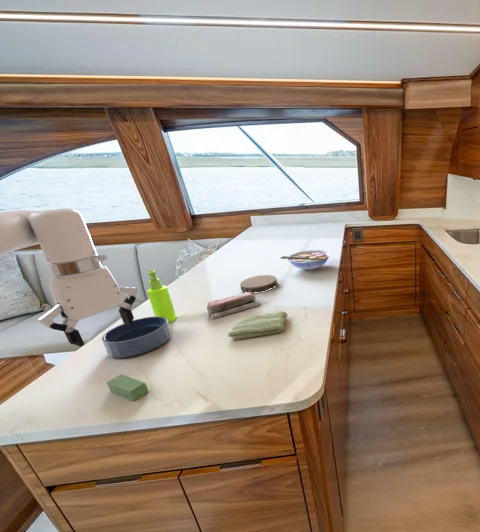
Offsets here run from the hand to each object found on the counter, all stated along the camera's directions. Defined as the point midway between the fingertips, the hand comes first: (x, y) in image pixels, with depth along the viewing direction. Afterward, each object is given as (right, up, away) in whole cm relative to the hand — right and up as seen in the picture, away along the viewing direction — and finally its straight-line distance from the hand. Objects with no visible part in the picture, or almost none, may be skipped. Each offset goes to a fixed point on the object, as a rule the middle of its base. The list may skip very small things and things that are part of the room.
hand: (105, 333), depth 71 cm
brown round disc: (+3, +6, +72) cm, 73 cm away
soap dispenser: (-19, -5, +43) cm, 47 cm away
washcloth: (+21, -6, +35) cm, 41 cm away
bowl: (-15, -10, +27) cm, 33 cm away
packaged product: (+2, -1, +51) cm, 51 cm away
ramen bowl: (+20, +15, +97) cm, 100 cm away
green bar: (0, -17, +6) cm, 18 cm away
